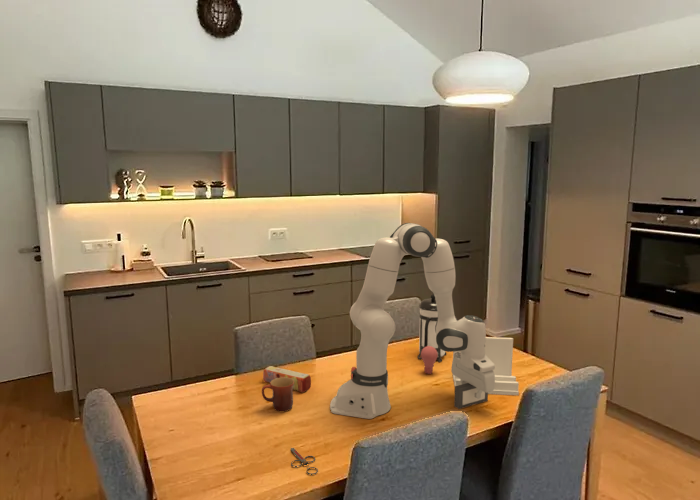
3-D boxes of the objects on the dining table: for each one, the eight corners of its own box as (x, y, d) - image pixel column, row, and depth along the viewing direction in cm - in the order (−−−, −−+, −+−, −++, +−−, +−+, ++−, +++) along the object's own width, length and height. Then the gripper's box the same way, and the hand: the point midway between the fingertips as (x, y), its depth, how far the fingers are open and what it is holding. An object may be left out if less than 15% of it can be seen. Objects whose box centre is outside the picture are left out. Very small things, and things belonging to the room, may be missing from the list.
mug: (292, 401, 195) (292, 376, 193) (296, 411, 187) (296, 385, 185) (261, 405, 192) (260, 379, 190) (263, 416, 184) (262, 389, 182)
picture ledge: (455, 392, 202) (456, 350, 199) (452, 375, 218) (453, 335, 215) (518, 395, 199) (520, 352, 196) (510, 377, 215) (512, 337, 213)
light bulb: (436, 370, 224) (437, 343, 222) (437, 376, 217) (438, 349, 215) (420, 369, 224) (420, 343, 222) (420, 376, 217) (421, 349, 215)
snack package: (261, 383, 212) (261, 367, 211) (272, 377, 218) (271, 362, 217) (302, 395, 201) (302, 378, 200) (312, 388, 206) (312, 373, 205)
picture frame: (459, 409, 188) (459, 389, 187) (453, 406, 190) (454, 386, 189) (487, 401, 194) (488, 381, 193) (482, 398, 197) (483, 378, 195)
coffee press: (408, 353, 244) (409, 292, 239) (439, 349, 248) (440, 289, 244) (424, 366, 227) (425, 301, 223) (456, 362, 232) (458, 298, 227)
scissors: (299, 444, 166) (299, 439, 165) (326, 472, 151) (326, 467, 150) (277, 451, 162) (277, 446, 161) (302, 480, 147) (302, 475, 146)
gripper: (448, 351, 197) (447, 385, 199) (485, 370, 179) (483, 407, 181) (460, 348, 200) (459, 382, 202) (498, 366, 182) (497, 403, 184)
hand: (471, 394), depth 192 cm, fingers open, 5 cm apart
